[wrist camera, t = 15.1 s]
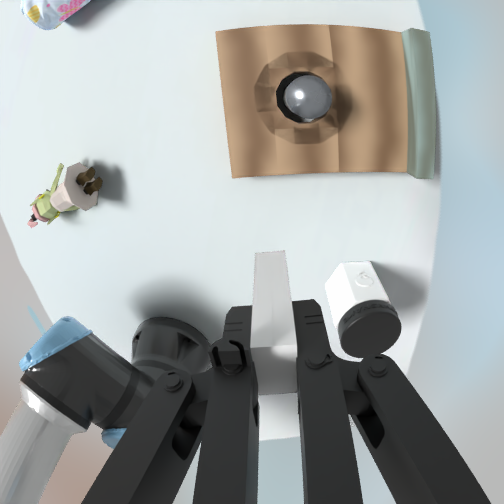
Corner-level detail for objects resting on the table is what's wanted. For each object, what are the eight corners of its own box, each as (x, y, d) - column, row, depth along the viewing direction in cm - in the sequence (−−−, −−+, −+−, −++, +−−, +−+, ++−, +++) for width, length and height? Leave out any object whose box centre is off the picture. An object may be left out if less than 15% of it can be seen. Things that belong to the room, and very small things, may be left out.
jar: (383, 258, 42) (411, 308, 31) (375, 301, 45) (396, 354, 35) (325, 261, 42) (341, 315, 32) (323, 305, 46) (333, 361, 36)
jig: (235, 172, 37) (228, 185, 32) (219, 36, 28) (210, 25, 23) (412, 167, 35) (433, 179, 29) (408, 39, 26) (429, 31, 21)
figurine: (87, 142, 34) (30, 181, 38) (63, 173, 29) (8, 211, 33) (118, 186, 40) (59, 215, 44) (102, 221, 35) (42, 247, 39)
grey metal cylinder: (285, 116, 33) (288, 120, 26) (281, 81, 31) (283, 76, 24) (321, 114, 33) (333, 117, 26) (317, 79, 31) (329, 74, 24)
